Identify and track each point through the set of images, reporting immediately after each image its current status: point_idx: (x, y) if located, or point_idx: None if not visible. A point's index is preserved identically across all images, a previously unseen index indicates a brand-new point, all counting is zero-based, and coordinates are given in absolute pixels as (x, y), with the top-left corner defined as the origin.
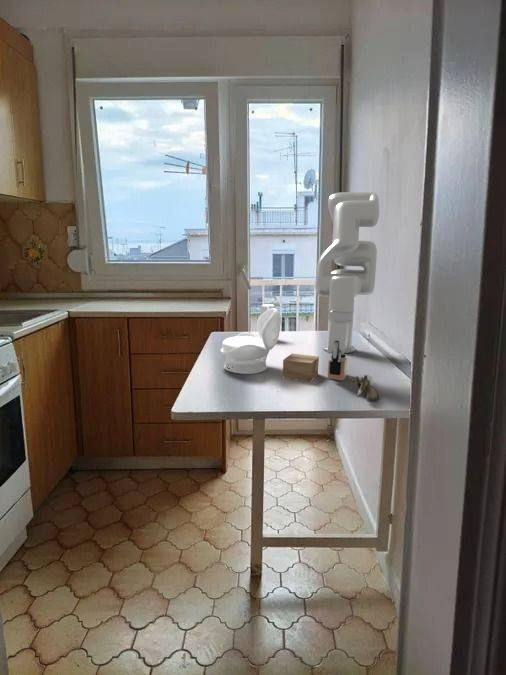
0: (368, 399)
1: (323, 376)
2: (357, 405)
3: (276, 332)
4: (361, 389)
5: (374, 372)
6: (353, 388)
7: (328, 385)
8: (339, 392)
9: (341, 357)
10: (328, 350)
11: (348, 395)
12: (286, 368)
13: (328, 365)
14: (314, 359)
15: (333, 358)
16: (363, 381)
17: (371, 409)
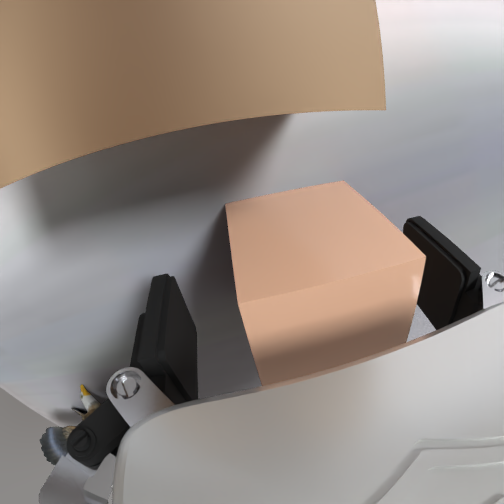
0: (76, 412)
1: (260, 156)
2: (25, 391)
3: None
4: (46, 429)
5: None
6: None
7: (90, 267)
8: (55, 337)
9: (404, 338)
10: (116, 466)
11: (60, 366)
12: None
13: (233, 262)
14: (161, 114)
15: (101, 427)
16: (50, 454)
17: (39, 412)
